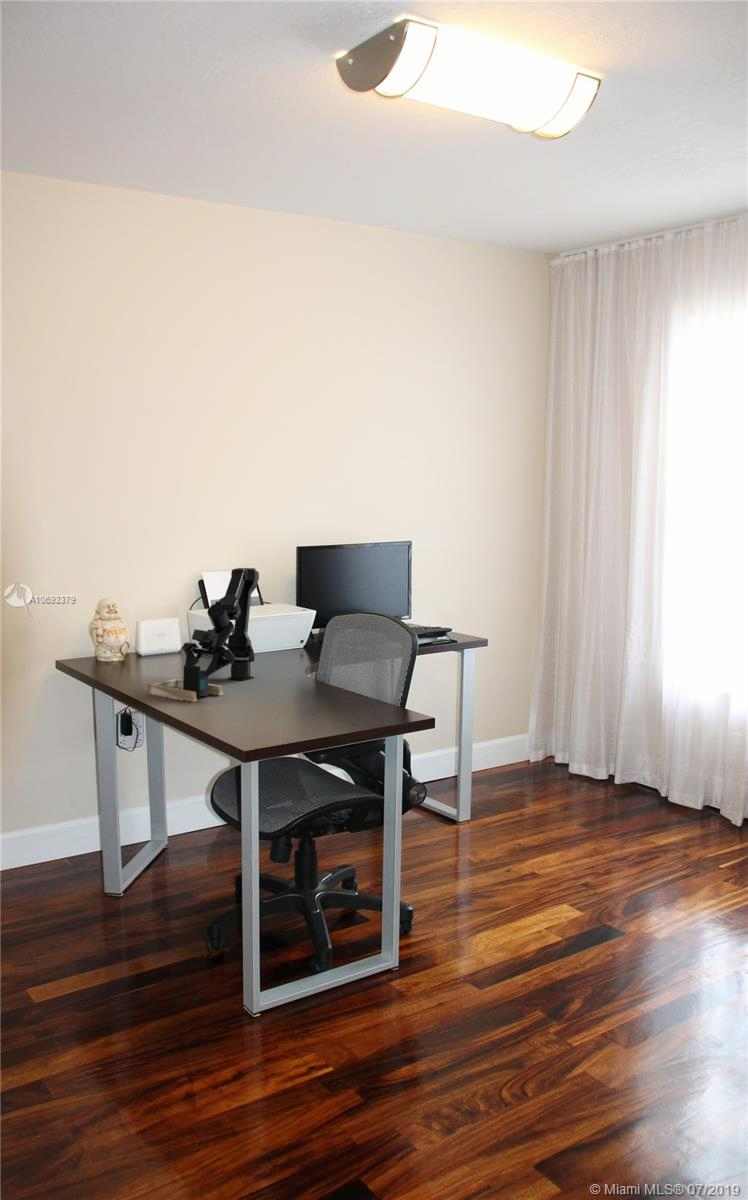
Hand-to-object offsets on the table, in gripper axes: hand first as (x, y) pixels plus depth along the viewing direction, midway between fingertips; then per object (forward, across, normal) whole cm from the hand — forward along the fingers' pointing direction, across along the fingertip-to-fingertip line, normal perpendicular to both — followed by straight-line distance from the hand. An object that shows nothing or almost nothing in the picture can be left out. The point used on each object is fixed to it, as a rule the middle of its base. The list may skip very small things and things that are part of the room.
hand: (194, 674), depth 307 cm
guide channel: (+5, -5, +6) cm, 9 cm away
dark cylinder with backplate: (+5, 0, +6) cm, 8 cm away
